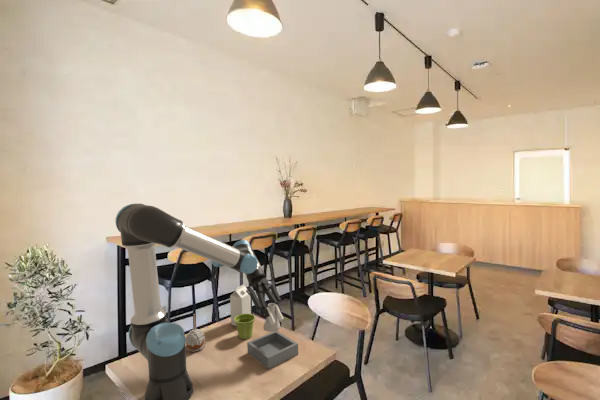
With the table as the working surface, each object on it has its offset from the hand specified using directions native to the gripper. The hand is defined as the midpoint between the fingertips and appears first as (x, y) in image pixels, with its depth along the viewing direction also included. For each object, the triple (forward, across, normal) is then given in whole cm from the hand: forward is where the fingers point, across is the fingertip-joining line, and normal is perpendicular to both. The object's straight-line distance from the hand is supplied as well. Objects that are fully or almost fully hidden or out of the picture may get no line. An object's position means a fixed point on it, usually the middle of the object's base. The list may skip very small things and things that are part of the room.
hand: (277, 321), depth 129 cm
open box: (+8, 0, -13) cm, 16 cm away
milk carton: (-14, -4, -36) cm, 39 cm away
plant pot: (-6, +1, -28) cm, 28 cm away
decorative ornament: (-10, +22, -32) cm, 40 cm away
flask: (0, 0, -6) cm, 6 cm away
